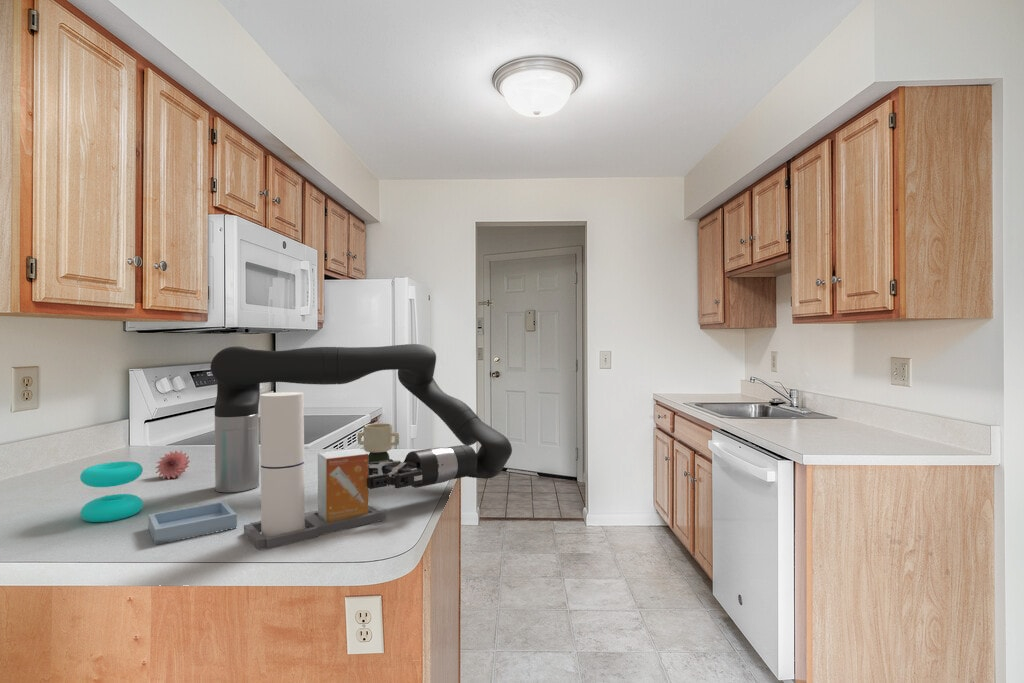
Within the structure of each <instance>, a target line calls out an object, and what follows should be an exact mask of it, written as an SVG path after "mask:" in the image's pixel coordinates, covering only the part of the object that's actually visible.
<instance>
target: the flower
mask: <svg viewBox="0 0 1024 683" xmlns="http://www.w3.org/2000/svg"><path fill="white" fill-rule="evenodd" d="M189 457H190V456H189V455H188V456H187V452H184V453H183V450H180V452H179V451H178V450H177V449H175V451H171V450H169V454H168V453H164V456H163V457H159V459H160V460H159V461H157V462H156V464H158V465H157V466H155V469H157V471H156V472H155V474H157V473H159V474H158V477H161V476H162V480H165V478H167V479H168V480H170V479H171V478H173V479H176V477H180V476H182V474H183V473H185V472H186V469H188V467H189V466H190V465H189V463H190V462H191V461H190V460H189Z"/></svg>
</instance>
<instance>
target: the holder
mask: <svg viewBox="0 0 1024 683" xmlns="http://www.w3.org/2000/svg"><path fill="white" fill-rule="evenodd" d="M381 521H383V512H381V511H380V510H378V509H376V508H374V507H373V506H371V505H369V504H368V514H364V515H359V516H354V517H350V518H345V519H341V520H336V521H332V522H327V523H326V522H325V521H324V520H322V519H321V518H319V517H318V509H317V510H312V511H308V512H307V511H306V512H305V529H302V530H297V531H293V532H288V533H284V534H279V535H275V536H270V537H266V538H265V537H264V536H263V535H262V534H261V520H258V521H254V522H249V524H244V525H243V535H244V536H247V537H248V538H247V537H246V538H247V539H248V540H249V541H250V542H251V543H252V545H253V546H254V547H255V548H256V549H257V550H263V549H266V550H267V549H271V548H277V547H279V546H280V547H281V546H284V545H285V546H286V545H289V544H293V542H294V543H297V541H298V542H301V540H302V541H305V540H310V538H311V539H314V537H315V538H318V536H322V535H326V533H327V534H329V533H333V531H334V532H339V531H342V529H343V530H347V529H350V527H352V528H355V526H356V527H359V525H360V526H363V525H368V523H369V524H372V522H373V523H377V522H381ZM338 530H339V531H338ZM321 534H322V535H321Z"/></svg>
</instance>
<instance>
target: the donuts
mask: <svg viewBox="0 0 1024 683" xmlns="http://www.w3.org/2000/svg"><path fill="white" fill-rule="evenodd" d="M143 472H144V471H143V466H142V465H141V464H140V463H139V462H137V461H114V462H105V463H100V464H95V465H92V466H88V467H86V468H85V469H83V470H82V472H81V473H80V476H79V478H80V481H81V482H82V484H84V485H86V486H87V487H88V486H89V487H93V488H110V487H117V486H122V485H126V484H129V483H131V482H135V480H137V479H138V478H139V477H141V475H142V474H143ZM143 507H144V501H143V500H142V498H141V497H140V496H138V495H134V494H130V493H118V494H110V495H105V496H101V497H98V498H95V499H92V500H91V501H89V502H87V503H86V504H85V505H84V506H83V507H82V508H81V509H80V517H81V518H82V519H83V520H84V521H86V522H89V523H107V521H108V522H114V521H118V520H124V519H127V518H130V517H133V516H135V515H136V514H138V513H139V512H140V511H141V510H143Z"/></svg>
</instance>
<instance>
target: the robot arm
mask: <svg viewBox="0 0 1024 683" xmlns="http://www.w3.org/2000/svg"><path fill="white" fill-rule="evenodd" d="M436 362H437V353H436V352H435V350H434V349H432V348H431V347H430V346H427V345H425V344H418V343H407V344H397V345H396V344H395V345H386V346H368V347H367V346H362V347H361V346H360V347H358V346H357V347H354V346H353V347H347V346H346V347H345V346H344V347H343V346H313V347H301V348H293V349H284V350H267V349H265V350H264V349H263V350H262V349H254V348H253V349H250V348H248V347H245V346H237V345H235V346H228V347H225V348H223V349H221V350H220V351H218V352H217V353H216V354H215V355H214V357H213V358H212V360H211V362H210V372H211V375H212V376H213V377H214V379H215V380H216V381H217V383H216V384H217V385H216V386H217V387H216V388H217V389H216V399H215V402H214V465H215V467H214V469H215V471H214V474H215V476H214V479H215V480H214V481H215V483H214V484H215V485H214V488H215V492H218V493H219V492H220V493H239V492H245V491H249V490H252V489H256V488H257V487H259V485H260V442H259V441H260V438H259V437H260V430H259V428H260V425H259V421H260V419H259V417H260V416H259V407H260V395H261V389H260V388H261V384H265V383H266V384H267V383H268V384H269V383H289V384H301V385H321V386H322V385H324V386H325V385H327V386H328V385H346V384H348V383H352V382H354V381H357V380H359V379H362V378H364V377H366V376H369V375H371V374H372V373H376V372H380V371H390V370H391V371H392V370H397V378H398V381H399V382H400V383H401V384H400V385H402V386H403V387H404V389H406V390H407V391H409V392H410V394H412V396H415V397H416V398H417V399H418V400H419V401H421V402H422V403H423V404H424V405H425V406H426V407H427V408H429V410H431V411H432V412H433V413H434V414H435V415H437V416H438V417H439V418H440V420H442V422H444V425H446V426H447V427H448V429H449V430H450V431H451V432H452V433H453V435H455V437H456V438H457V439H458V440H459V441H460V443H462V444H461V445H454V446H447V447H443V446H442V447H434V448H433V447H431V448H426V449H420V450H418V449H417V450H413V451H409V452H407V454H406V456H405V459H404V460H403V461H401V460H394V459H392V458H391V459H389V460H384V461H376V462H368V478H367V487H368V490H372V489H378V488H385V487H388V488H393V487H394V489H399V490H400V489H402V488H407V487H412V488H413V489H417V488H423V487H427V486H432V485H436V484H437V485H438V484H442V483H445V482H449V481H451V480H455V479H463V478H465V477H467V478H473V479H475V478H476V479H482V480H483V479H484V480H487V479H489V480H490V479H493V478H494V477H497V476H498V475H499V474H500V473H501V472H502V470H503V469H504V467H505V466H506V464H507V462H508V460H509V459H510V457H511V456H512V452H513V447H512V445H511V442H510V440H509V439H508V438H507V437H506V436H505V435H504V434H502V433H501V432H500V431H498V430H496V429H495V428H493V427H492V426H490V425H488V424H487V423H486V422H483V420H482V419H480V418H479V415H477V413H475V412H474V411H473V410H472V408H471V407H470V406H469V405H468V404H467V403H465V402H464V401H463V400H461V399H458V398H457V397H453V396H451V395H449V394H447V393H446V392H445V391H443V390H442V389H441V387H440V386H439V385H438V384H437V382H436V380H435V379H434V374H435V369H436ZM477 442H478V443H479V444H480V447H479V449H478V451H477V452H476V451H475V449H474V448H473V447H472V445H474V444H477ZM373 468H377V470H376V471H373ZM383 473H384V474H383Z"/></svg>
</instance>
